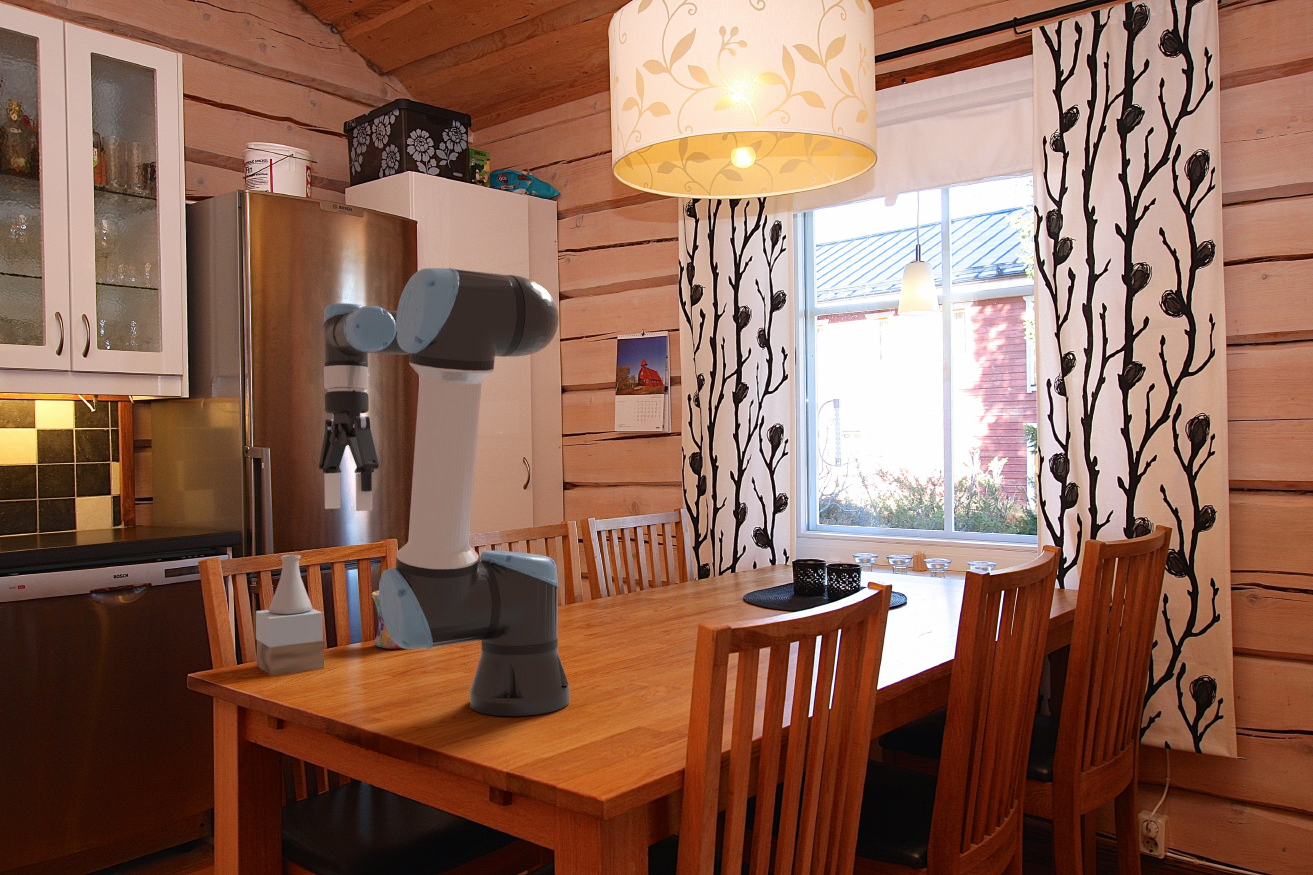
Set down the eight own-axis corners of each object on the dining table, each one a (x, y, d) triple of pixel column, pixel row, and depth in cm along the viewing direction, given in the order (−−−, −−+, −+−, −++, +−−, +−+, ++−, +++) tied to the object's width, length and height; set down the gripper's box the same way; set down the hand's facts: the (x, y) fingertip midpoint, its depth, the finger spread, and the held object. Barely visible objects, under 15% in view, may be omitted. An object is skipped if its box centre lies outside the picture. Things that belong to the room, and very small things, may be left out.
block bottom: (324, 668, 174) (324, 640, 174) (271, 676, 169) (271, 647, 169) (307, 659, 181) (307, 632, 181) (256, 666, 176) (256, 639, 176)
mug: (392, 653, 186) (392, 597, 186) (361, 647, 191) (361, 592, 191) (441, 642, 195) (441, 589, 195) (411, 636, 201) (411, 585, 201)
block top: (322, 640, 174) (322, 612, 174) (270, 647, 169) (270, 618, 169) (306, 632, 181) (306, 605, 181) (255, 638, 176) (255, 611, 176)
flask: (320, 610, 176) (320, 555, 176) (285, 616, 170) (285, 559, 170) (295, 606, 180) (295, 552, 180) (260, 612, 174) (260, 556, 174)
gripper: (397, 387, 169) (399, 510, 169) (338, 395, 188) (339, 506, 187) (355, 385, 164) (357, 512, 164) (299, 394, 183) (300, 508, 183)
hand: (348, 509), depth 176 cm, fingers open, 13 cm apart
